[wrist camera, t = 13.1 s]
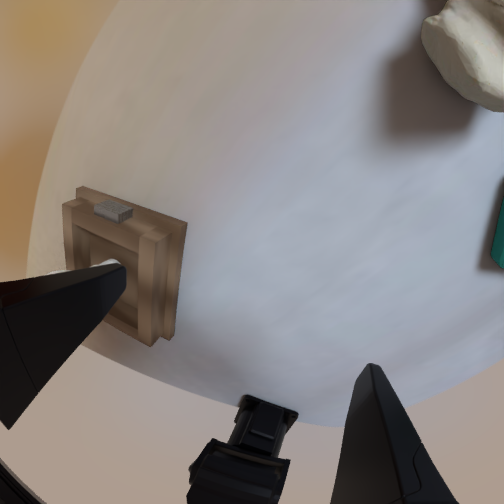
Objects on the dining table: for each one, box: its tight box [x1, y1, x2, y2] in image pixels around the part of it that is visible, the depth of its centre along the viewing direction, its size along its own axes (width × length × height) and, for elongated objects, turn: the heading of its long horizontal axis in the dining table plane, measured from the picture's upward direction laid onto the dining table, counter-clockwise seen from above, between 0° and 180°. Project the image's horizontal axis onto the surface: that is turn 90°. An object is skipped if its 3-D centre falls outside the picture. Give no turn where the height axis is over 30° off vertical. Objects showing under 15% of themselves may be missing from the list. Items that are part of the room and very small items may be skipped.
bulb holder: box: [62, 186, 187, 347], centre depth 26 cm, size 13×13×4 cm
